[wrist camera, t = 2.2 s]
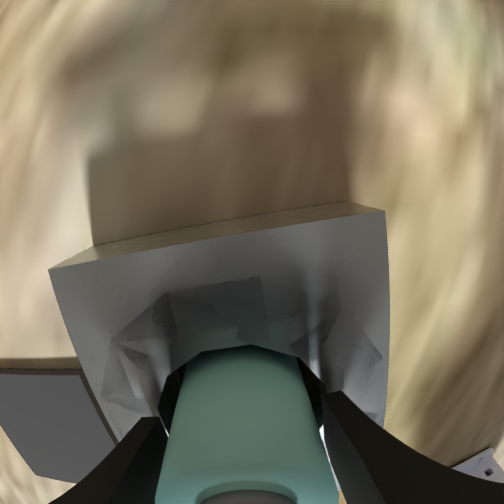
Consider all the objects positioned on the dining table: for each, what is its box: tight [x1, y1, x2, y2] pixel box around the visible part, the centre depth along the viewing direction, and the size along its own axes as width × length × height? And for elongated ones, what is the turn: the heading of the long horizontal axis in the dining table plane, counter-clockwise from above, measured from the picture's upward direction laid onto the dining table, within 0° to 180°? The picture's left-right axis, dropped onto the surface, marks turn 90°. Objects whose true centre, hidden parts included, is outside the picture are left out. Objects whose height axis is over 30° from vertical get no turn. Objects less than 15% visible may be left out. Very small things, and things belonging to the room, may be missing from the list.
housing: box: [48, 202, 390, 491], centre depth 11 cm, size 10×12×4 cm
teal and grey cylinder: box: [155, 344, 339, 504], centre depth 9 cm, size 4×4×8 cm
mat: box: [0, 368, 119, 484], centre depth 14 cm, size 9×9×1 cm
